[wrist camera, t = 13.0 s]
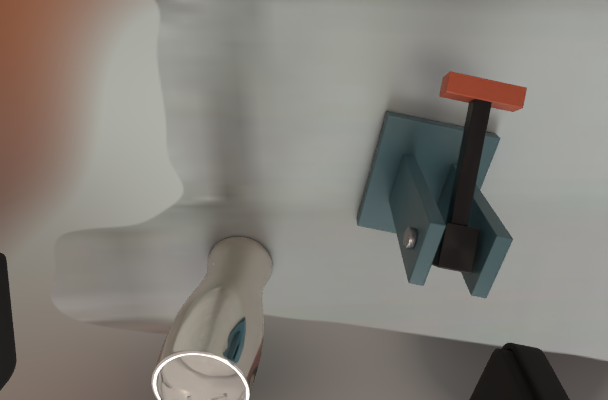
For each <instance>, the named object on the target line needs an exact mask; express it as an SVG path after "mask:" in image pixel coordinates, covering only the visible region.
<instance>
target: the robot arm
mask: <svg viewBox="0 0 608 400" xmlns="http://www.w3.org/2000/svg"><path fill="white" fill-rule="evenodd" d="M15 366H16V351H15V340H14V331H13V322H12V310H11V300H10V292H9V281H8V271H7V261H6V257H5V255H4V254H2V253H0V390H1V389H2V388H3V386H4V385H5V384H6V383H7V381H8V380H9V379H10V377H11V376H12V373H13V372H14V369H15ZM470 400H570V399H569V398H568V396H567V394H566V392H565V390H564V389H563V387H562V385H561V383H560V382H559V380H558V378H557V376H556V374H555V372H554V371H553V369H552V367H551V365H550V364H549V362H548V360H547V358H546V356H545V355H544V353H543V352H542V350H540V349H538V348H534V347H529V346H524V345H519V344H514V343H507V344H505V345H504V346H503V348H502V349H496V350H494V352H493V353H492V355H491V357H490V359H489V361H488V363H487V365H486V367H485V369H484V371H483V374H482V375H481V377H480V379H479V381H478V384H477V385H476V388H475V390H474V392H473V394H472V396H471V398H470Z"/></svg>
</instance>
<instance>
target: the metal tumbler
mask: <svg viewBox="0 0 608 400" xmlns="http://www.w3.org/2000/svg"><path fill="white" fill-rule="evenodd" d="M271 273H272V260H271V257H270V255H269V253H268V252H267V250H266V249H265V248H264V247H263V246H262V245H261V244H259V243H258V242H256V241H254V240H252V239H249V238H246V237H230V238H226V239H224V240H222V241H220V242H218V243H217V244H216V245H215V246H214V247H213V249H212V250H211V252H210V254H209V258H208V264H207V272H206V275H205V277H204V279H203V280H202V281H201V283H200V284H199V285H198V286H197V288H196V289H195V290H194V291H193V293H192V294H191V295H190V296H189V298H188V299H187V300H186V302H185V303H184V304H183V306H182V307H181V309H180V310H179V312H178V313H177V315H176V317H175V319H174V321H173V323H172V325H171V327H170V329H169V332H168V334H167V337H166V339H165V341H164V344H163V347H162V350H161V353H160V356H159V359H158V362H157V365H156V368H155V370H154V372H153V375H152V389H153V392H154V395H155V396H156V398H157V400H249V397H250V392H251V389H252V385H253V382H254V379H255V376H256V372H257V369H258V365H259V361H260V356H261V350H262V344H263V333H264V331H263V330H264V320H263V298H262V296H263V290H264V287H265V285H266V283H267V282H268V280H269V278H270V276H271Z"/></svg>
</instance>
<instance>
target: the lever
mask: <svg viewBox="0 0 608 400" xmlns="http://www.w3.org/2000/svg"><path fill="white" fill-rule="evenodd" d="M526 90H527V88H526V87H521V86H516V85H511V84H507V83H502V82H497V81H492V80H488V79H483V78H478V77H473V76H469V75H464V74H459V73H454V72H449V73H448V74H446V75H445V76H444V77H443V80H442V85H441V90H440V95H439V96H440V97H444V98H449V99H454V100H458V101H463V102H468V103H469V106H468V111H467V116H466V122H465V127H464V132H463V137H462V142H461V147H460V152H459V158H458V163H457V168H456V173H455V178H454V183H453V188H452V194H451V199H450V204H449V209H448V214H447V219H446V222H445V225H446V227H445V230H444V232H443V235H442V238H441V240H440V243H439V246H438V248H437V251H436V254H435V256H434V259H433V262H432V264H431V265H434V266H436V267H439V268H444V269H449V270H454V271H459V272H464V273H470V274H471V273H472V271H473V265H474V260H475V255H476V250H477V245H478V240H479V234H480V229H478V228H473V227H468V222H469V217H470V212H471V207H472V202H473V196H474V191H475V186H476V181H477V176H478V171H479V165H480V160H481V155H482V150H483V145H484V140H485V134H486V129H487V124H488V119H489V114H490V109H491V107H492V108H497V109H501V110H506V111H511V112H514V111H516V110H519V109H521V108H523V105H524V100H525V95H526Z"/></svg>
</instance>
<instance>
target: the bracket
mask: <svg viewBox="0 0 608 400" xmlns="http://www.w3.org/2000/svg"><path fill="white" fill-rule="evenodd" d="M463 132H464V127H461V126H456V125H451V124H446V123H442V122H437V121H432V120H427V119H422V118H418V117H413V116H408V115H403V114H398V113H393V112H389V111H387V112H386V116H385V119H384V123H383V126H382V130H381V134H380V137H379V141H378V144H377V148H376V152H375V155H374V159H373V163H372V166H371V170H370V173H369V177H368V181H367V184H366V188H365V191H364V195H363V199H362V202H361V206H360V210H359V213H358V217H357V225H358V226H362V227H367V228H372V229H377V230H382V231H387V232H392V233H397V237H398V241H399V245H400V249H401V254H402V258H403V262H404V266H405V270H406V274H407V278H408V282H409V283H411V284H417V285H422V286H423V285H424V283H425V281H426V278H427V275H428V273H429V270H430V267H431V264H432V262H433V259H434V256H435V254H436V251H437V248H438V246H439V243H440V240H441V238H442V235H443V232H444V230H445V227H446V225H445V222H446V219H447V214H448V209H449V204H450V199H451V194H452V188H453V183H454V178H455V173H456V168H457V163H458V158H459V152H460V147H461V142H462V137H463ZM499 140H500V138H499V137H498V136H497V135H496V134H495V133H490V132H486V134H485V140H484V145H483V150H482V155H481V160H480V165H479V171H478V176H477V181H476V186H475V191H474V196H473V202H472V207H471V212H470V217H469V222H468V227H473V228H478V229H480V234H479V240H478V245H477V250H476V255H475V260H474V265H473V271H472V273H471V274H470V273H464V272H461V273H462V275H463V278H464V280H465V282H466V285H467V287H468V289H469V292H470V294H471V295H472V296H477V297H482V298H487V295H488V293H489V291H490V289H491V287H492V284H493V282H494V280H495V278H496V276H497V273H498V271H499V269H500V267H501V264H502V262H503V260H504V258H505V256H506V253H507V251H508V249H509V247H510V245H511V242H512V240H513V238H512V237H511V235H510V234H509V232H508V231H507V229H506V228H505V226H504V225H503V224H502V222H501V221H500V219H499V218H498V216H497V215H496V213H495V212H494V210H493V209H492V207H491V206H490V204H489V203H488V201H487V200H486V198H485V197H484V196H483V194H482V193H481V191H480V189H481V186H482V183H483V181H484V178H485V176H486V173H487V171H488V168H489V166H490V163H491V161H492V158H493V156H494V153H495V151H496V148H497V146H498V143H499Z"/></svg>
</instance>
